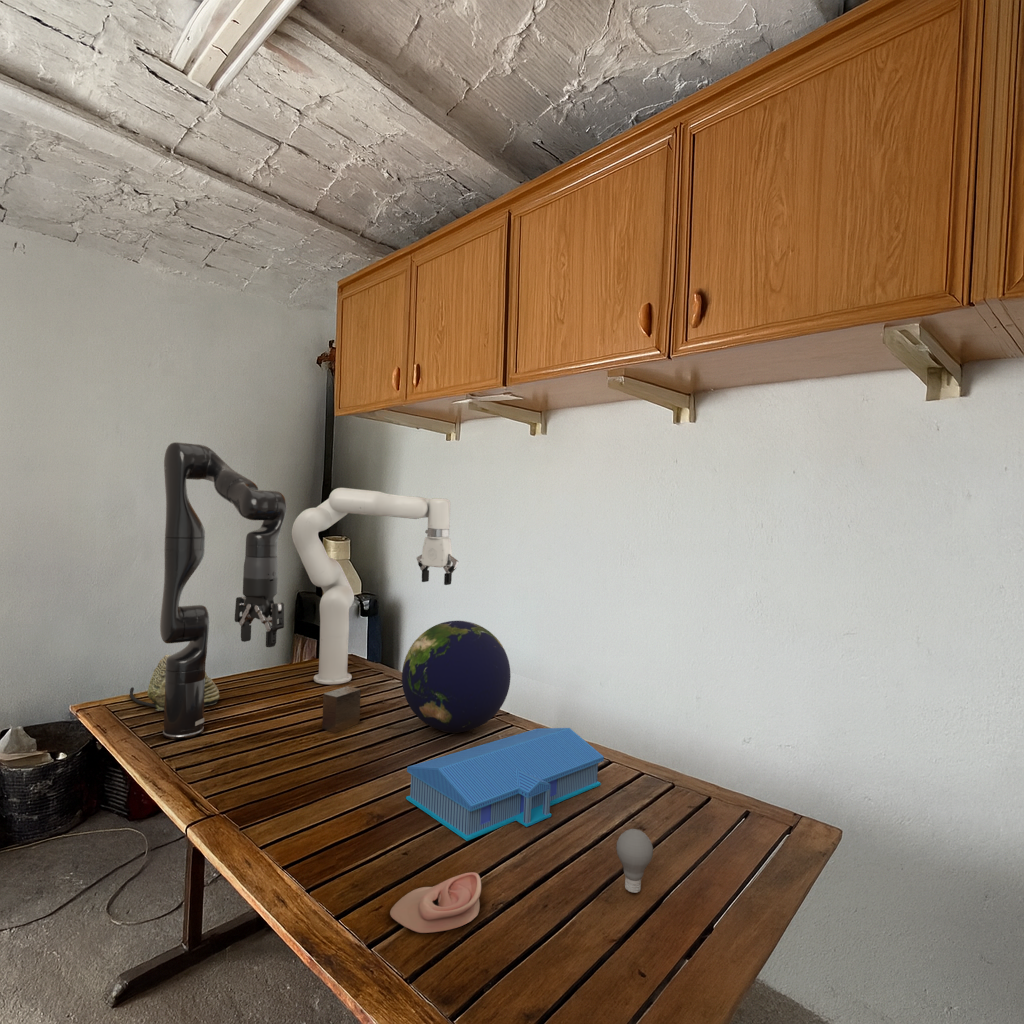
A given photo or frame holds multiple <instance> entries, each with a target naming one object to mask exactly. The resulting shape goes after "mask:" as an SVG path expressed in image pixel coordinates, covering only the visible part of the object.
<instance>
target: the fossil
mask: <svg viewBox="0 0 1024 1024" xmlns="http://www.w3.org/2000/svg"><path fill="white" fill-rule="evenodd" d="M171 655H172V654H165V655H164V656H163V657H162V658H161V659H160V660H159V662H158V663H157V666H156V667H155V669H154V670H153V672H152V675H151V677H150V680H149V684H148V688H147V697H148V699H149V700H150V701H152V703H153V704H155V706H156V708H155V711H158V712H159V711H162V712H163V711H164V705H165V674H166V660H167V658H168V657H169V656H171ZM220 698H221V696H220V690H219V688H218V686H217V685H216V683H215V682H214V681H213V679H212V678H211V677H209V675H208V674H207V672H206V671H205V693H204V707H207V706H213V705H215V704H217V703H218V701H219V699H220Z"/></svg>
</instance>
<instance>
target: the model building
mask: <svg viewBox="0 0 1024 1024" xmlns="http://www.w3.org/2000/svg"><path fill="white" fill-rule="evenodd" d="M604 759H605V756H604V755H603V754H602V753H600V751H598V750H597V749H596V748H595V747H593V746H592V745H590V744H589V742H587V741H586V740H585V739H584V738H582V737H581V736H580V735H578V733H576V732H575V731H574V730H573V729H572V728H570V727H550V728H548V727H547V728H546V727H542V728H540V727H539V728H534V729H531V730H527V731H524V732H520V733H517V734H514V735H510V736H507V737H504V738H501V739H497V740H494V741H490V742H486V743H484V744H480V745H477V746H473V747H470V748H467V749H463V750H460V751H457V752H456V751H455V752H453V753H450V754H446V755H443V756H439V757H437V758H432V759H430V760H426V761H423V762H419V763H417V764H413V765H409V766H407V767H406V773H408V774H410V795H406V797H405V799H406V800H407V801H408V802H410V803H411V804H412V805H414V806H415V807H417V808H418V809H420V810H421V811H422V812H424V813H425V814H427V815H429V816H430V817H431V818H433V819H434V820H436V821H437V822H438V823H440V824H441V825H443V826H444V827H446V828H447V829H449V830H450V831H452V832H453V833H455V834H456V835H457V836H458V837H460V838H461V839H463V840H464V841H466V842H469V841H471V840H473V839H475V838H478V837H480V836H482V835H485V834H488V833H490V832H493V831H495V830H497V829H499V828H502V827H504V826H507V825H509V824H511V823H514V822H515V821H516V822H518V823H519V824H520V825H523V827H526V828H529V827H530V826H533V825H535V824H537V823H540V822H542V821H544V820H546V819H549V818H551V817H552V813H550V811H551V810H550V809H551V807H552V806H554V805H557V804H559V803H561V802H564V801H567V800H568V799H571V798H573V797H575V796H578V795H580V794H583V793H585V792H587V791H590V790H592V789H594V788H597V787H599V786H601V785H602V782H600V781H598V774H599V773H598V772H599V763H603V762H604V761H605V760H604Z"/></svg>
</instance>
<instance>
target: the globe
mask: <svg viewBox="0 0 1024 1024" xmlns="http://www.w3.org/2000/svg"><path fill="white" fill-rule="evenodd" d="M511 675H512V674H511V665H510V660H509V657H508V655H507V652H506V650H505V647H504V646H503V644H502V643H501V641H500V640H499V639H498V638H497V637H496V636H495V634H494V633H492V632H491V631H490V630H489V629H487V628H485V627H483V626H481V625H480V624H477V623H474V622H471V621H468V620H448V621H444V622H440V623H437V624H435V625H433V626H431V627H429V628H428V629H427V630H425V631H424V632H422V633H421V634H420V635H419V636H418V637H417V638H416V639H415V640H414V642H413V643H412V644H411V646H410V647H409V649H408V651H407V653H406V655H405V658H404V662H403V665H402V671H401V685H402V686H401V687H402V691H403V695H404V698H405V700H406V702H407V705H408V706H409V708H410V709H411V711H412V712H413V713H414V715H415V716H416V717H417V718H418V719H419V720H420V721H422V722H423V723H424V724H426V725H427V726H429V727H430V728H433V729H436V730H438V731H441V732H445V733H451V734H453V733H454V734H455V733H456V734H457V733H464V732H465V733H466V732H470V731H473V730H475V729H478V728H480V727H481V726H483V725H485V724H486V723H488V722H489V721H490V720H492V718H493V717H495V716H496V715H497V713H498V712H499V711H500V709H501V708H502V706H503V705H504V702H505V701H506V699H507V696H508V694H509V690H510V685H511Z"/></svg>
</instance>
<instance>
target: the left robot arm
mask: <svg viewBox="0 0 1024 1024" xmlns="http://www.w3.org/2000/svg"><path fill="white" fill-rule="evenodd" d="M163 457H164V459H163V472H164V474H163V475H164V490H165V530H164V550H163V552H164V554H163V555H164V570H163V571H164V577H163V591H162V600H161V610H160V618H159V620H160V621H159V631H160V637H161V640H162V641H163V642H164V644H178V643H188V644H187V645H186V646H184V647H183V648H182V649H180V650H179V651H177V652H175V653H173V654H170V655H171V656H169V657H168V658H167V660H166V674H165V705H164V710H163V730H162V737H164V738H166V739H169V740H185V739H190V738H191V739H192V738H194V737H197V736H199V735H202V734H203V732H204V730H205V729H204V727H205V725H204V723H205V706H204V693H205V672H206V664H207V663H206V660H207V655H208V641H209V633H210V613H209V610H208V609H207V607H206V606H205V605H203V604H194V605H193V604H192V605H181V606H180V600H181V596H182V593H183V591H184V589H185V587H186V584H187V583H188V581H189V580H190V579H191V577H192V576H193V574H194V573H195V572H196V570H197V569H198V568H199V566H200V565H201V563H202V561H203V559H204V557H205V547H206V546H205V545H206V544H205V543H206V531H205V527H204V525H203V523H202V521H201V519H200V518H199V516H198V514H197V512H196V510H195V509H194V508H193V506H192V504H191V502H190V500H189V499H190V498H189V496H188V488H187V480H192V481H193V480H196V481H200V480H206V481H208V482H212V483H213V487H214V490H215V491H216V493H217V494H218V495H219V496H220V497H221V498H222V499H224V500H226V501H227V502H229V503H230V504H232V505H233V506H234V508H235V510H236V511H237V512H238V514H239V515H240V516H241V517H242V518H244V519H246V520H248V521H262V523H261V526H260V527H259V528H258V529H255V530H251V531H249V532H248V533H246V536H245V550H244V551H245V553H244V561H243V572H242V573H243V576H242V595H243V596H238V597H236V598H235V606H234V607H235V609H234V622H235V623H239V626H240V641H241V642H243V643H245V642H250V641H251V640H252V624H253V623H252V622H253V621H254V620H255V619H257V620H259V621H260V622H261V624H263V625H264V627H265V629H266V631H265V647H266V648H273V647H275V646H276V644H277V631H278V630H281V629H284V627H285V604H284V602H275V599H274V597H275V596H277V594H278V581H279V578H278V576H279V562H278V551H279V549H278V547H279V537H280V534H281V531H282V527H283V525H284V521H285V518H286V515H287V511H288V503H287V500H286V498H285V496H284V494H283V493H282V492H280V491H277V490H264V489H263V490H262V489H261V490H260V489H259V487H258V485H257V484H256V483H255V482H253V481H252V480H251V479H249V478H248V477H246V476H244V475H243V474H241V473H238V471H235V469H233V468H231V467H230V466H229V464H228V463H226V462H225V461H224V460H223V459H222V458H221V457H220V456H219V455H218V454H217V453H216V451H214V450H213V449H211V448H210V447H209V446H206V445H203V444H196V443H189V442H188V443H187V442H179V441H178V442H177V441H176V442H171V443H170V444H169V445H167V447H166V449H165V452H164V456H163ZM134 690H135V688H134V687H130V690H129V697H130V700H132V701H133V702H135V703H136V704H139V705H141V706H146V707H151V708H155V709H156V706H155V703H153V702H147V701H143V700H140V699H138V698H136V697H135V695H134Z"/></svg>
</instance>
